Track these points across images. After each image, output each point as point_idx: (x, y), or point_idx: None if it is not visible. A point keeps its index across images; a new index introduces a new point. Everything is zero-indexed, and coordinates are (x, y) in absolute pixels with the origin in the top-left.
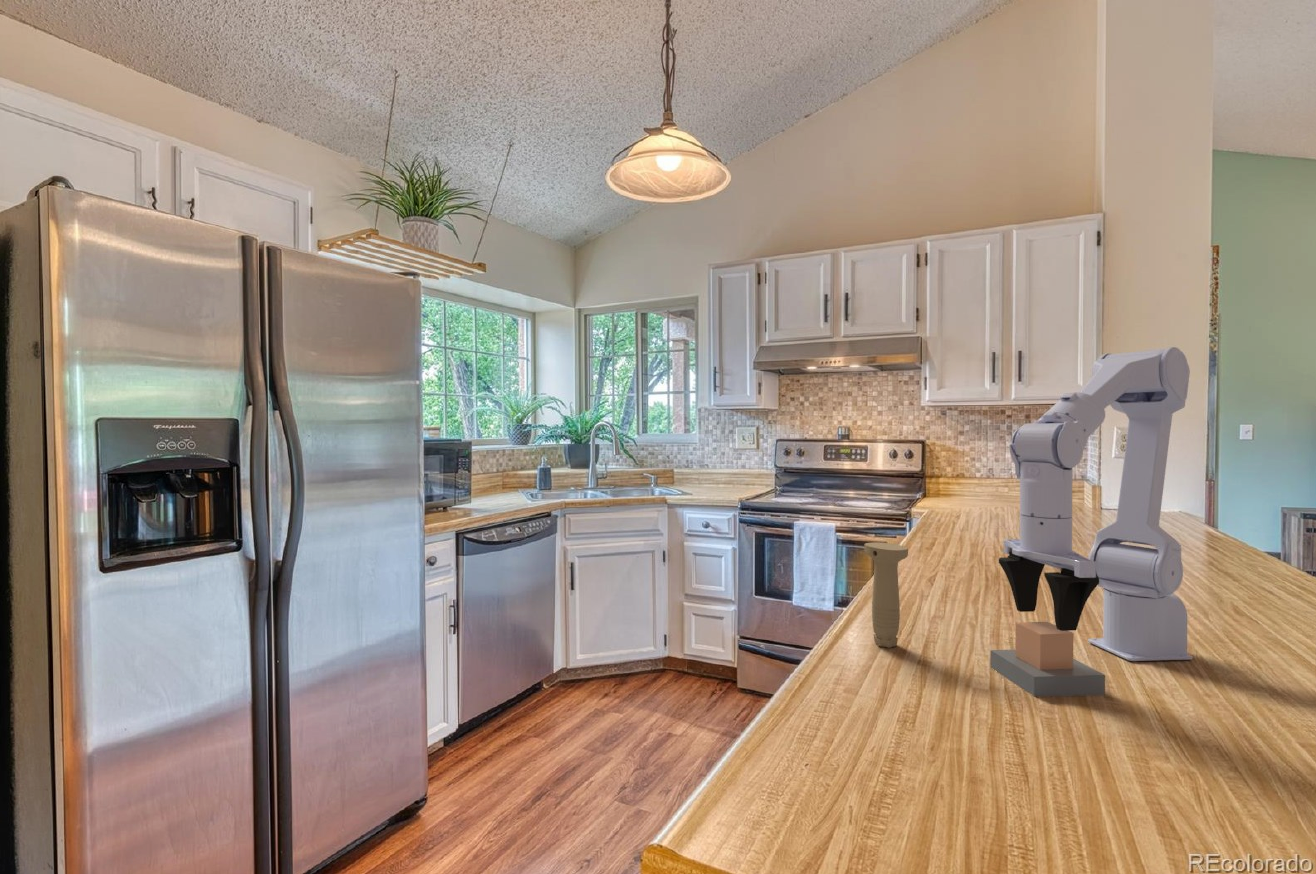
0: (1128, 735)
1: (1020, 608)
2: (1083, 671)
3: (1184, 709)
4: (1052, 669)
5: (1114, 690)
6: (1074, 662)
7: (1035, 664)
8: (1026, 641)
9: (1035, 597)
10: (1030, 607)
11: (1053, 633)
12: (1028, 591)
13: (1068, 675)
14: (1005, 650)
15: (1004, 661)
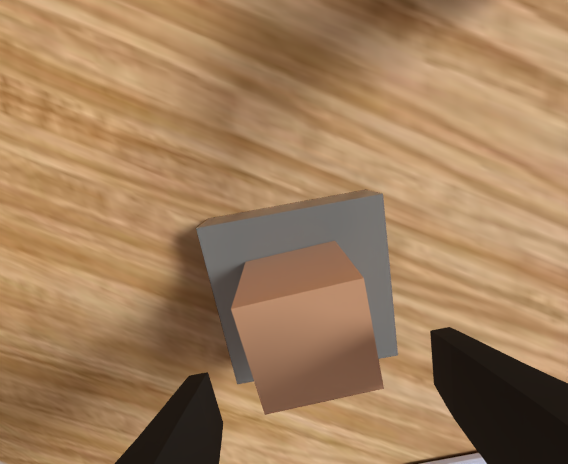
0: (65, 308)
1: (438, 340)
2: None
3: None
4: None
5: None
6: None
7: (261, 261)
8: (299, 271)
9: (479, 445)
10: (444, 383)
11: (249, 354)
12: (508, 449)
13: (218, 310)
14: (380, 233)
15: (316, 204)
